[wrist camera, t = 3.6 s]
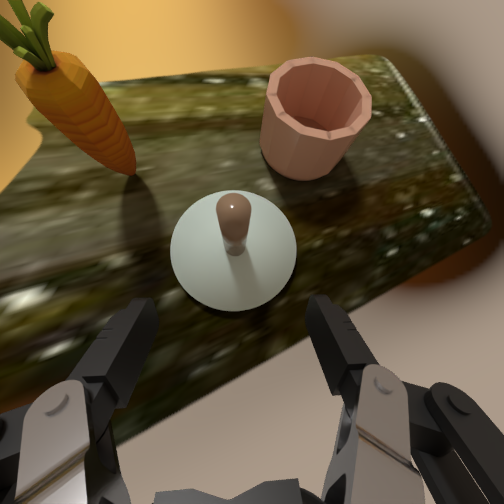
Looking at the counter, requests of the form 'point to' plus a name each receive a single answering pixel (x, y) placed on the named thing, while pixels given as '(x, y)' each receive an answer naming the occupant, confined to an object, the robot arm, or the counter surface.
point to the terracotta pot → (312, 117)
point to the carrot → (66, 91)
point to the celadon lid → (233, 250)
